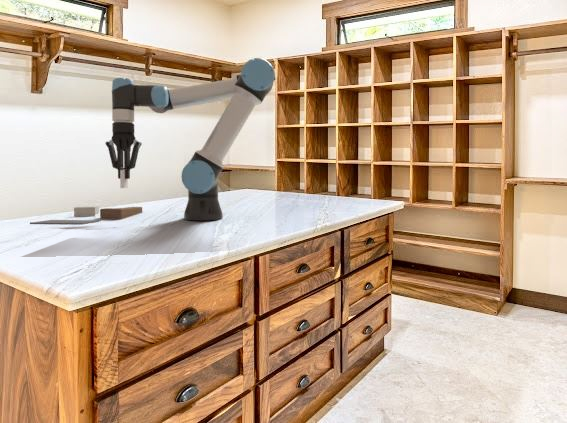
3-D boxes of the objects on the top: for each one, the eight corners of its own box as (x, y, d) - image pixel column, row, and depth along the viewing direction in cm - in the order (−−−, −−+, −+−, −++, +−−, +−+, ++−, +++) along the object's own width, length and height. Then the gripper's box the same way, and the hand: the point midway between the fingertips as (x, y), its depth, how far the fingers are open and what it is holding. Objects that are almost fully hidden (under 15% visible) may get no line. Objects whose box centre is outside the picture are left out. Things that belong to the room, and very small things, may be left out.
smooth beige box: (99, 218, 201) (98, 206, 200) (95, 219, 193) (94, 207, 192) (79, 218, 199) (78, 206, 199) (74, 219, 191) (73, 207, 191)
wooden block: (99, 208, 186) (123, 206, 204) (99, 220, 186) (123, 217, 204) (120, 209, 184) (142, 206, 202) (121, 220, 185) (142, 217, 202)
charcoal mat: (100, 221, 181) (100, 220, 181) (82, 224, 168) (82, 223, 168) (51, 220, 183) (51, 219, 183) (29, 223, 171) (29, 222, 170)
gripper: (144, 123, 174) (145, 188, 175) (111, 123, 175) (111, 187, 177) (136, 121, 167) (136, 188, 168) (101, 121, 168) (101, 187, 169)
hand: (124, 188), depth 172 cm, fingers closed
